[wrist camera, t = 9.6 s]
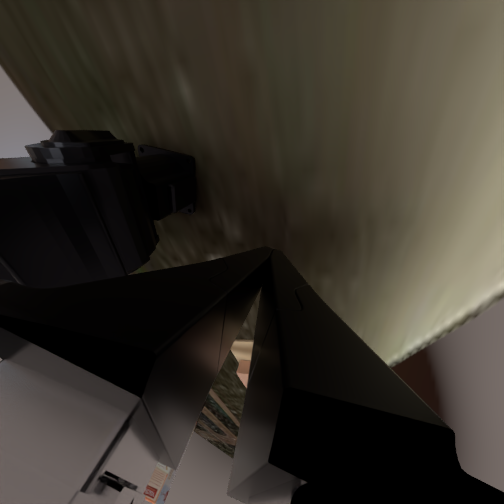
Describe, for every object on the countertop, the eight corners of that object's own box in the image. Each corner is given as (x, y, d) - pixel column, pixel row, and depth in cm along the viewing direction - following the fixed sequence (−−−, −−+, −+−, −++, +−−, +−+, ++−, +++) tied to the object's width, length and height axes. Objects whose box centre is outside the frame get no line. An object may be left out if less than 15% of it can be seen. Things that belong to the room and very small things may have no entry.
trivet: (226, 339, 36) (225, 341, 36) (285, 340, 32) (285, 343, 31) (255, 387, 44) (255, 389, 44) (307, 394, 39) (307, 397, 39)
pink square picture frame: (236, 372, 36) (253, 398, 40) (286, 378, 32) (299, 406, 36) (240, 359, 38) (256, 385, 42) (288, 363, 34) (300, 391, 38)
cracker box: (181, 403, 67) (136, 495, 50) (196, 410, 66) (156, 505, 49) (183, 416, 75) (145, 499, 58) (197, 421, 74) (163, 508, 57)
